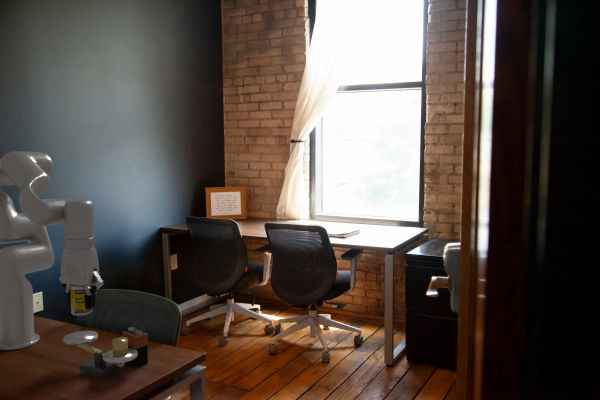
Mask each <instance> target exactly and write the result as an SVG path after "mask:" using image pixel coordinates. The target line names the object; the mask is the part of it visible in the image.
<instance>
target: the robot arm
mask: <svg viewBox="0 0 600 400" xmlns="http://www.w3.org/2000/svg"><path fill="white" fill-rule="evenodd" d="M53 172H54V162H53V160H52V158H51V157H50V156H49V155H48V154H47V153H45V152H42V151H21V150H20V151H16V150H15V151H10V152H7V153H6V154H4V155H3V156H2V157H1V158H0V187H1V186H16V187H17V188H18V189H19V190H20V191H19V193H18V203H19V208H20V210H21V212H17V210H16V208H15V206H14V202H13V199H12V198H11V197H10V196H9V195H8V194H7V193H6V192H5V191H4V190H3V189H1V188H0V245H3V244H4V245H5V244H6V245H7V244H15V243H22V242H27V243H23V244H16V245H9V246H5V247H2V248H0V350H1V351H11V350H12V351H14V350H21V349H24V348H28V347H30V346H33V345H35V344H37V343H38V342H39V341H40V340H41V336H40V335H39V334H38V333H35V326H34V325H35V323H34V322H35V320H34V319H35V318H34V316H35V315H34V293H33V292H34V290H33V289H34V288H33V286H32V283H31V282H30V281H29V280H28V279H27V278H26V276H25V275H28V274H31V273H38V272H41V271H45V270H46V271H47V270H49V269H50V268H51V267H52V266H53V265H54V263H55V252H54V249H53V245H52V241H51V239H50V235H49V233H48V229H47V227H50V226H57V225H58V226H59V225H64V239H63V242H64V244H65V245H64V246H65V248H63V249H62V254H61V259H60V260H61V261H60V276H59V277H58V280H59V282H60V283H61V284H62V286H63V288H64V289H65V290H64V291H65V292H66V294H67V307H68V308H71V286H72V285H78V286H85V290H86V293H87V295H85V309H90V308H92V309H93V308H96V294H97V293H98V292H99V289H100V288H101V287H102V286H103V285H104V284H105V282H104V280H103V279H102V278H101V276H100V263H99V258H98V252H97V249H96V246H95V243H96V242H95V206H94V202H92V201H91V200H89V199H78V198H74V197H66V198H65V197H64V198H63V197H62V198H60V197H58V198H43V199H42V198H40V197H41V196H42V195H44V194H45V193H46V192H47V191H48V190H49V189H50V186H51V183H52V181H51V177H50V176H51V174H52V173H53ZM90 285H91V289H90V287H89V286H90Z"/></svg>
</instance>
